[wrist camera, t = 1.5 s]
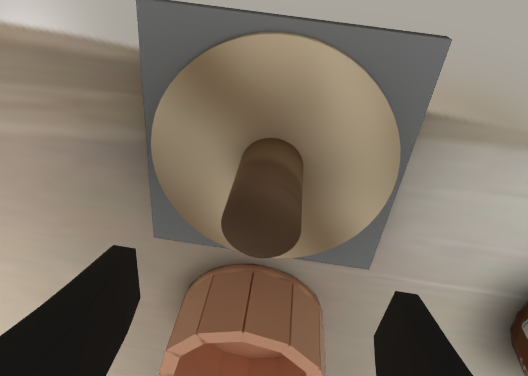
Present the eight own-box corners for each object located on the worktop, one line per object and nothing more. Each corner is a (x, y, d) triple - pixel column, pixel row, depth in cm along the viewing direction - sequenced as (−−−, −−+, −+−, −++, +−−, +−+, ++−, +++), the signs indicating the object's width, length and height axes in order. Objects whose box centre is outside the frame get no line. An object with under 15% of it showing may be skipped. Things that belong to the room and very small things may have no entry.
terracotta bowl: (250, 368, 28) (240, 439, 24) (158, 302, 25) (129, 370, 21) (350, 324, 24) (358, 399, 20) (256, 239, 21) (243, 307, 17)
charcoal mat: (367, 262, 21) (368, 269, 20) (157, 230, 21) (153, 237, 21) (447, 36, 14) (452, 39, 14) (141, -4, 15) (135, -2, 14)
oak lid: (265, 277, 21) (254, 360, 17) (111, 144, 18) (46, 206, 13) (445, 173, 17) (492, 250, 12) (285, -38, 13) (272, -33, 9)
